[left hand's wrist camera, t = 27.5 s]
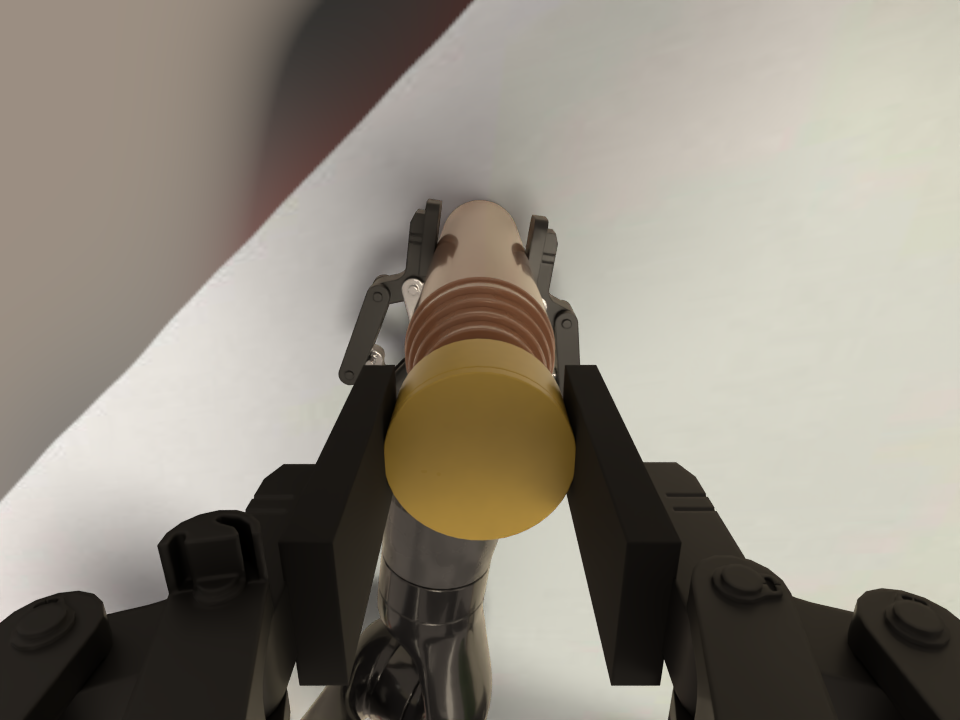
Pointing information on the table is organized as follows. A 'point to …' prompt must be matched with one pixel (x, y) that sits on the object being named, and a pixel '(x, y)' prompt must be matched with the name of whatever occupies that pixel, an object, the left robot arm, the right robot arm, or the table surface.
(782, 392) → the table surface
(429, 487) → the cap
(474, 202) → the bottle
